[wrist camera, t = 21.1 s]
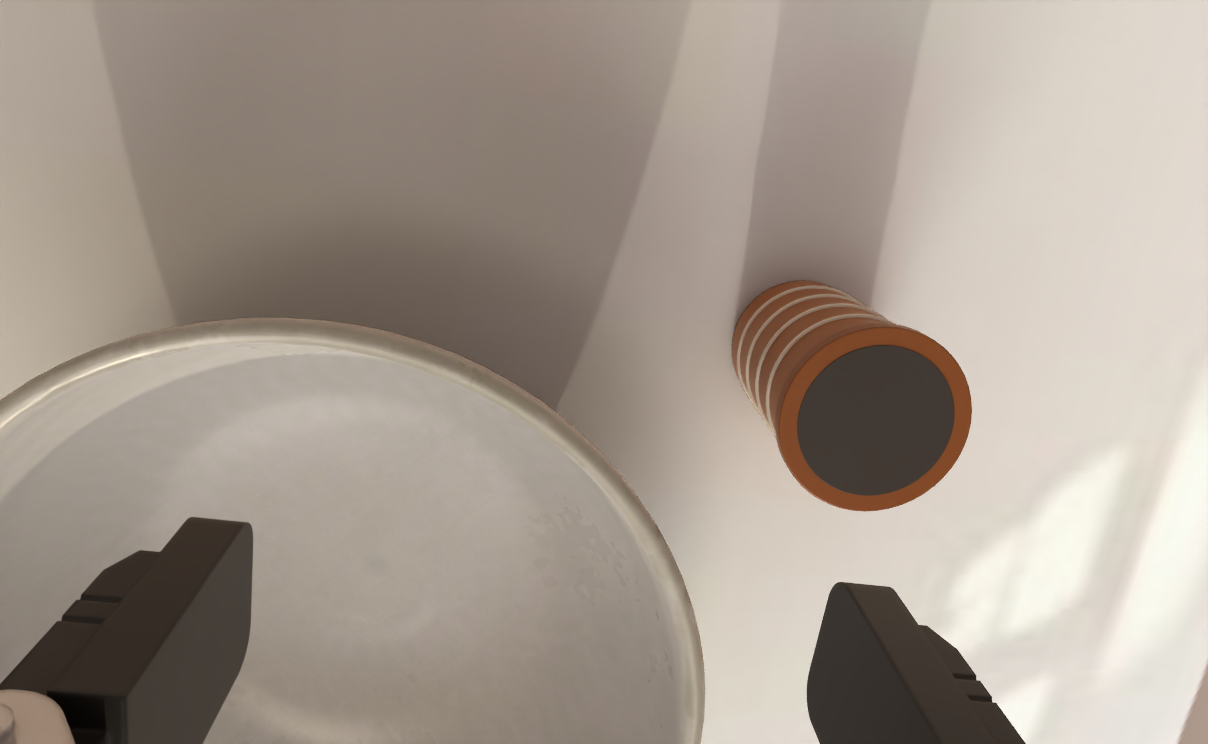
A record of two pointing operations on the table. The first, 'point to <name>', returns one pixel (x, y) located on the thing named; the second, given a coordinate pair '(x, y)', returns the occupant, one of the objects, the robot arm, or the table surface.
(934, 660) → the robot arm
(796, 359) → the brown striped cylinder
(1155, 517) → the table surface
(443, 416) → the decorative bowl
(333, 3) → the table surface
